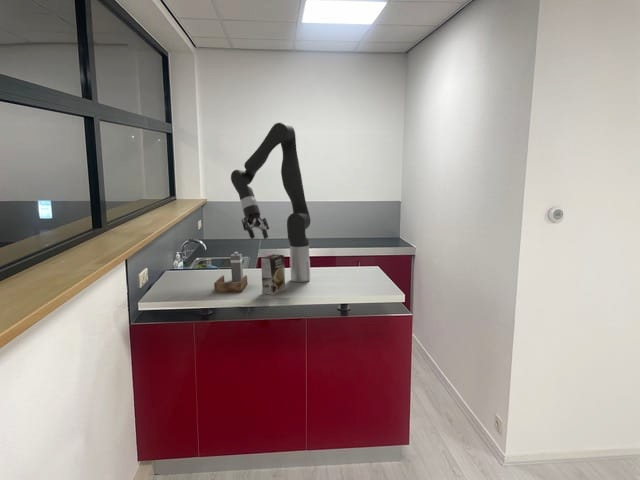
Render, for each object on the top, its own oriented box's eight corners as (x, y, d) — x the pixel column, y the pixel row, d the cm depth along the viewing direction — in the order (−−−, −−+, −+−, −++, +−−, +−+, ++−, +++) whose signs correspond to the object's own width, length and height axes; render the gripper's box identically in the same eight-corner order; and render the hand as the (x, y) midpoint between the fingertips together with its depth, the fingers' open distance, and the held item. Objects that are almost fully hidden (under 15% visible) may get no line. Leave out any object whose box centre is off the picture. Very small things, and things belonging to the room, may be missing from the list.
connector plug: (243, 279, 221) (242, 251, 219) (241, 281, 217) (239, 253, 214) (234, 279, 222) (232, 251, 219) (231, 281, 217) (229, 253, 214)
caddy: (247, 284, 211) (247, 275, 211) (241, 292, 199) (240, 282, 198) (222, 284, 212) (222, 275, 211) (214, 292, 199) (214, 283, 198)
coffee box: (273, 295, 194) (271, 258, 191) (262, 293, 197) (260, 257, 194) (286, 289, 201) (284, 254, 199) (274, 288, 205) (273, 253, 202)
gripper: (243, 203, 208) (253, 235, 204) (265, 205, 219) (275, 235, 215) (234, 210, 213) (243, 241, 209) (256, 211, 224) (265, 241, 220)
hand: (259, 238), depth 212 cm, fingers open, 8 cm apart
